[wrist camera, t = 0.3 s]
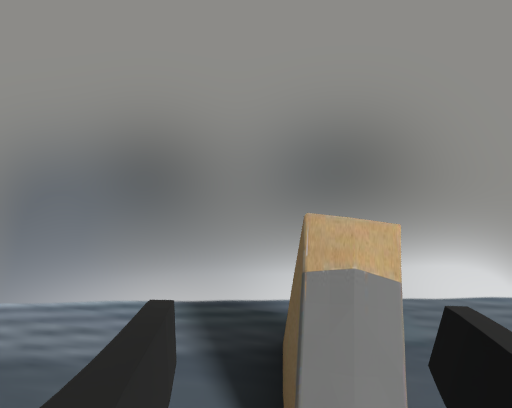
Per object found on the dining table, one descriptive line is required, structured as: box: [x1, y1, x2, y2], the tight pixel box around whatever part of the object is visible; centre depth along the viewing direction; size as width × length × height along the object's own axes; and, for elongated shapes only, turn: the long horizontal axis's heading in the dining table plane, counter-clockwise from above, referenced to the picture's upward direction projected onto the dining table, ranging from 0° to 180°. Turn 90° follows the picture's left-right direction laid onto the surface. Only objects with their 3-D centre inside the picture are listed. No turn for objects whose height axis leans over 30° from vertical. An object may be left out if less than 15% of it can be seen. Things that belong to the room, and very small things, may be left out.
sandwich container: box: [283, 213, 407, 408], centre depth 27 cm, size 9×15×15 cm, turn 178°
